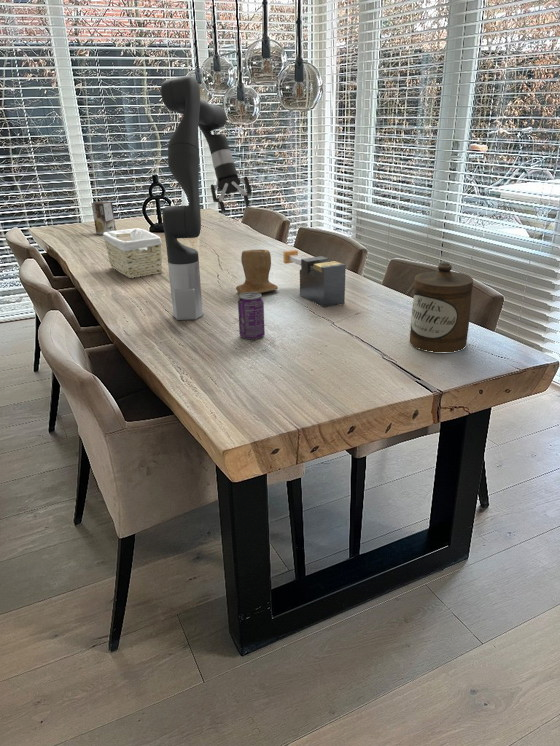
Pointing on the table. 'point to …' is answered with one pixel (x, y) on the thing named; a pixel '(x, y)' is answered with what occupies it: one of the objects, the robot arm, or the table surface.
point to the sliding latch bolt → (293, 257)
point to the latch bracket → (322, 281)
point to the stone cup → (256, 272)
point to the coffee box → (103, 217)
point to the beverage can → (251, 315)
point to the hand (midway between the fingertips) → (236, 209)
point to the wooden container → (441, 310)
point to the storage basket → (134, 252)
